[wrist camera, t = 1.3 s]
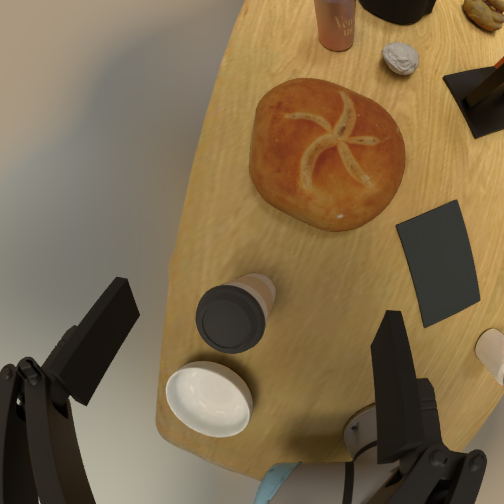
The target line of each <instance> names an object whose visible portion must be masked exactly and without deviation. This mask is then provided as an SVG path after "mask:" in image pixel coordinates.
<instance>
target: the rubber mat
mask: <svg viewBox="0 0 504 504" xmlns="http://www.w3.org/2000/svg"><path fill="white" fill-rule="evenodd" d="M396 228H397V231H398V234H399V237H400V240H401V243H402V246H403V249H404V252H405V255H406V258H407V262H408V265H409V269H410V272H411V276H412V279H413V283H414V287H415V291H416V294H417V299H418V303H419V307H420V311H421V316H422V321H423V325H424V328H426V327H428V326H430V325H433V324H435V323H437V322H439V321H441V320H443V319H446V318H448V317H450V316H452V315H454V314H456V313H458V312H460V311H462V310H464V309H466V308H467V307H469V306H471V305H473V304H475V303H477V302H479V301H480V293H479V287H478V281H477V275H476V270H475V265H474V260H473V255H472V251H471V247H470V242H469V238H468V235H467V231H466V227H465V224H464V220H463V217H462V213H461V210H460V207H459V204H458V201H457V200H454V201H452V202H449V203H447V204H445V205H442V206H440V207H438V208H436V209H433V210H431V211H429V212H426V213H424V214H422V215H419V216H417V217H414V218H412V219H410V220H407V221H405V222H403V223H400V224H398V225H396Z"/></svg>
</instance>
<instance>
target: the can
mask: <svg viewBox="0 0 504 504" xmlns="http://www.w3.org/2000/svg"><path fill="white" fill-rule="evenodd" d="M475 353H476V356H477V357H478V358H479V360H480V361H481V362H482V363H483V365H484V366H485V367H486V368H487V369H488V371H489V372H490V373H491V374H492V376H493V377H494V378H495V379H496V380H497V382H498V383H499V384H500V385H504V335H503V334H502V333H501V332H499V331H498V330H497V329H489V330H487V331H486V332H484V333H483V334H482V335H481V337H480V338H479V340H478V342H477V344H476V348H475Z"/></svg>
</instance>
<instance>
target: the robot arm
mask: <svg viewBox="0 0 504 504" xmlns="http://www.w3.org/2000/svg"><path fill="white" fill-rule="evenodd" d="M139 316H140V314H139V311H138V308H137V306H136V303H135V300H134V297H133V294H132V291H131V288H130V286H129V282H128V279H126V278H121V277H116V278H115V279H114V280H113V282H112V283H111V284H110V285H109V286H108V288H107V289H106V290H105V291H104V293H103V294H102V295H101V296H100V298H99V299H98V300H97V301H96V303H95V304H94V305H93V307H92V308H91V309H90V311H89V312H88V313H87V314H86V316H85V317H84V318H83V320H82V321H81V322H80V324H79V325H78V326H76V325H74V326H73V327H71V328H70V329H69V330H67V331H66V333H65V334H64V335H63V337H62V339H61V340H60V341H59V342H58V344H57V346H55V348H54V349H53V351H52V352H51V354H50V355H49V356H48V358H47V359H46V361H45V363H44V364H43V365H42V366H41V367H40V366H39V365H38V364H37V363H36V361H35V360H34V359H33V358H32V357H25V358H23V359H21V360H20V361H19V363H18V364H17V366H16V367H15V366H14V365H13V364H7V365H6V366H4V367H3V368H2V370H1V372H0V504H39V502H38V501H39V500H40V503H41V504H96V502H95V500H94V497H93V494H92V491H91V488H90V485H89V482H88V479H87V476H86V472H85V469H84V465H83V462H82V458H81V454H80V450H79V446H78V442H77V437H76V432H75V427H74V422H73V416H72V410H71V404H70V401H69V399H68V397H69V396H70V395H71V396H72V397H73V399H75V401H77V402H79V403H81V404H83V405H85V406H87V405H88V403H89V401H90V399H91V397H92V395H93V394H94V392H95V390H96V388H97V386H98V385H99V383H100V381H101V379H102V378H103V376H104V374H105V372H106V370H107V369H108V367H109V365H110V364H111V362H112V360H113V359H114V357H115V355H116V353H117V352H118V350H119V348H120V347H121V345H122V343H123V342H124V340H125V338H126V337H127V335H128V333H129V332H130V330H131V328H132V327H133V325H134V324H135V322H136V321H137V319H138V317H139ZM370 347H371V355H372V365H373V375H374V387H375V401H376V403H375V404H372V405H369V406H367V407H365V408H363V409H361V410H360V411H358V412H357V413H356V414H354V415H353V416H352V417H351V418H350V420H349V421H348V422H347V424H346V426H345V429H344V442H345V445H346V447H347V449H348V451H349V453H350V455H351V457H352V459H353V461H352V462H333V463H302V462H297V463H277V464H275V465H273V466H272V467H271V468H270V469H269V470H268V471H267V473H266V474H265V476H264V478H263V480H262V482H261V484H260V486H259V489H258V491H257V494H256V498H255V501H254V504H474V503H475V501H476V498H477V495H478V492H479V489H480V486H481V483H482V480H483V476H484V473H485V469H486V464H487V458H486V455H485V454H484V452H483V451H481V450H473V451H471V452H469V453H468V454H467V453H460V452H454V451H450V450H449V449H448V448H447V447H446V446H445V445H444V444H443V442H442V438H441V431H440V423H439V416H438V410H437V404H436V401H435V393H434V388H433V386H432V384H431V383H430V381H429V380H428V378H421V379H416V374H415V369H414V364H413V359H412V354H411V350H410V345H409V341H408V337H407V333H406V329H405V325H404V321H403V317H402V314H401V311H393V310H386V313H385V315H384V318H383V320H382V322H381V324H380V327H379V329H378V331H377V333H376V336H375V338H374V340H373V342H372V344H371V346H370ZM17 398H18V399H19V400H20V404H19V405H18V404H17ZM38 496H39V500H38Z"/></svg>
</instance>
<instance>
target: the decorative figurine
mask: <svg viewBox="0 0 504 504" xmlns="http://www.w3.org/2000/svg"><path fill="white" fill-rule="evenodd" d="M464 10H465V11H464V12H465V13H466V14H467V15H468V17H469V18H470V19H471V20H473V21H474V22H475V23H476V24H477V25H478V26H479V27H482V28H484V29H486V30H489V31H495V30H499V29H501V28H502V25H503V24H502V23H504V15H503V12H504V0H465V1H464Z"/></svg>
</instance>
